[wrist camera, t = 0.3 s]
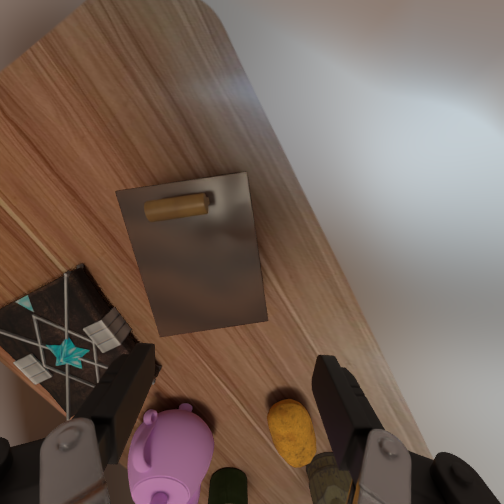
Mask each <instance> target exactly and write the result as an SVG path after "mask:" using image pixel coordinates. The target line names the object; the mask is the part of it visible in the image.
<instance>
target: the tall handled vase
mask: <svg viewBox="0 0 504 504" xmlns="http://www.w3.org/2000/svg"><path fill="white" fill-rule="evenodd" d="M306 471H307V474H308V478H309V488H310V492H311V497H312V501H313V504H346V501H347V497H348V492H349V488H350V484H351V481H352V477H351V475H350V472H349V471H339V469H338V466H337V463H336V460H335V457H334V454H333V453H332V452H327V453H322V454H318V455H316V456H315V457H313V459H312V461H311V463H309V464H307V467H306Z"/></svg>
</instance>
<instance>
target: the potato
mask: <svg viewBox="0 0 504 504" xmlns="http://www.w3.org/2000/svg"><path fill="white" fill-rule="evenodd" d="M267 420H268V426H269V430H270V433H271V436H272V440H273V443H274V445H275V447H276V449H277V451H278V453H279V454H280V455H281V456H282V457H283V458H284V459H285V461H286V462H287V463H288V464H289V465H291V466H293V467H294V468H296V467H302V466H305V465H307V464H309V463H311V461H312V459H313V457H314V455H315V453H316V437H315V433H314V429H313V425H312V421H311V418H310V416H309V413H308V412H307V410H306V409H305V407H304V406H303V405H302V404H301V403H300V402H297V401H295V400H292V399H285V400H281V401H279V402H277V403H275V404H273V406H272V407H271V408H270V410H269V413H268V415H267Z"/></svg>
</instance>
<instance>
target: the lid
mask: <svg viewBox="0 0 504 504" xmlns="http://www.w3.org/2000/svg"><path fill="white" fill-rule="evenodd" d="M115 193H116V196H117V199H118V202H119V206H120V209H121V212H122V215H123V218H124V222H125V225H126V228H127V231H128V235H129V238H130V241H131V244H132V248H133V251H134V254H135V257H136V261H137V264H138V267H139V270H140V274H141V277H142V280H143V283H144V287H145V290H146V293H147V296H148V299H149V303H150V306H151V309H152V312H153V316H154V319H155V322H156V325H157V329H158V332H159V335H160V337H165V336H172V335H178V334H185V333H192V332H198V331H205V330H212V329H218V328H225V327H231V326H238V325H245V324H251V323H258V322H265V321H268V315H267V308H266V301H265V294H264V287H263V280H262V273H261V266H260V259H259V252H258V244H257V237H256V230H255V223H254V216H253V209H252V202H251V195H250V188H249V181H248V174H247V171H245V172H239V173H232V174H225V175H219V176H212V177H205V178H199V179H192V180H185V181H179V182H172V183H165V184H159V185H152V186H145V187H139V188H132V189H125V190H119V191H115Z"/></svg>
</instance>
